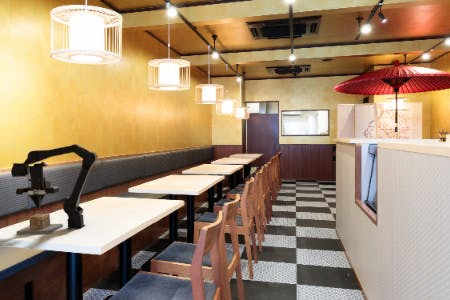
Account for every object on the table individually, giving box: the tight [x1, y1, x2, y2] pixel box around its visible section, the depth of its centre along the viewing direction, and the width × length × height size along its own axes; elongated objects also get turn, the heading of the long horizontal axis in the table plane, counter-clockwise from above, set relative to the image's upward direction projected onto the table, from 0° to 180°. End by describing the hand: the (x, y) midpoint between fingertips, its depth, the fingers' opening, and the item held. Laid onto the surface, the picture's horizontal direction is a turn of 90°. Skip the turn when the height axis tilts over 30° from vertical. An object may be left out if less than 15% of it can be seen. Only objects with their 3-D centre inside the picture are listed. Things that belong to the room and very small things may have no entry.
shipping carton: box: [28, 213, 51, 229], centre depth 166 cm, size 6×6×6 cm
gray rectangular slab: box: [16, 223, 64, 235], centre depth 166 cm, size 16×12×2 cm
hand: (38, 207), depth 166 cm, fingers closed
